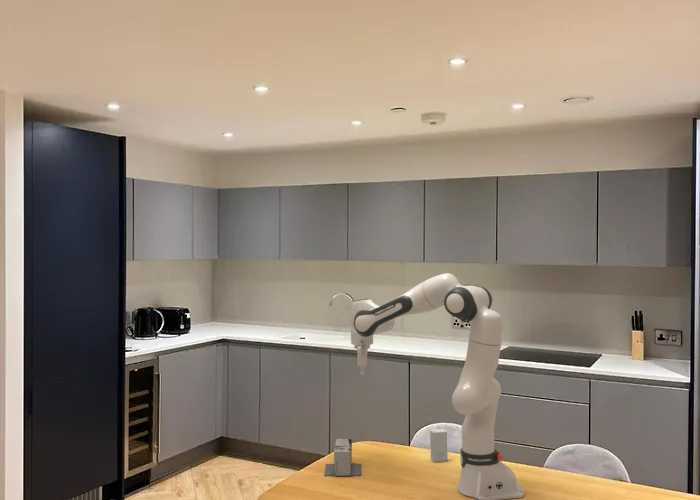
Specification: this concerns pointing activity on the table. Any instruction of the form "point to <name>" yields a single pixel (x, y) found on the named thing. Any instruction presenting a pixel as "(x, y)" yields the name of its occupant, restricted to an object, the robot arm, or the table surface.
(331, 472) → the mat
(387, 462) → the table surface
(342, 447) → the coffee box
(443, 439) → the skincare box
